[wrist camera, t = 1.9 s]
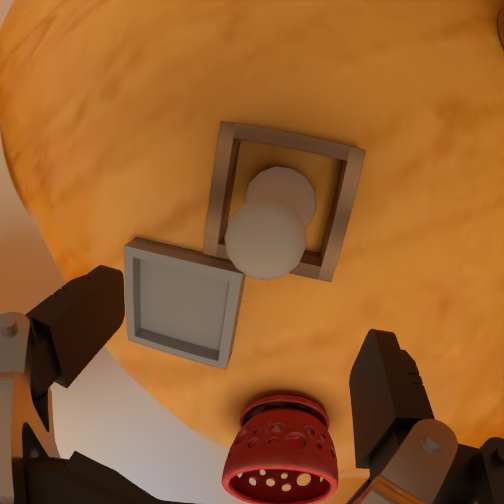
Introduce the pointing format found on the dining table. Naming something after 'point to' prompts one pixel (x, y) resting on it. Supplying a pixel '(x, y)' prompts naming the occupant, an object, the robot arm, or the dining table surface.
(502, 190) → the dining table surface
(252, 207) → the salt shaker
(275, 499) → the plant pot
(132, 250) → the tray
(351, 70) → the dining table surface
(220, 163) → the rectangular frame
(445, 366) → the dining table surface
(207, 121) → the dining table surface
